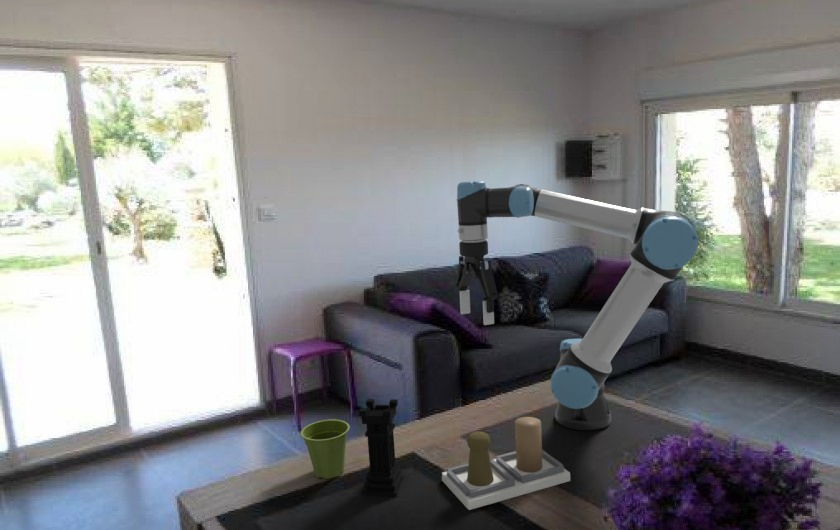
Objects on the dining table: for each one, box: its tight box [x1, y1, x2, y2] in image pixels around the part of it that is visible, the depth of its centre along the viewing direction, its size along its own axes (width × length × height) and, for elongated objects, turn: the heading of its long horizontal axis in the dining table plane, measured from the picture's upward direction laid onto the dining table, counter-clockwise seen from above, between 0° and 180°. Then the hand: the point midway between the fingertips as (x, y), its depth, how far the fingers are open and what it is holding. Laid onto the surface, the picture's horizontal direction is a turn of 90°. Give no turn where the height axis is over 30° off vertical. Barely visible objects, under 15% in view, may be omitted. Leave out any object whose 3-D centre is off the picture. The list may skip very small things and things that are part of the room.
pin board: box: [441, 416, 571, 511], centre depth 141 cm, size 26×14×13 cm, turn 112°
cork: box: [466, 431, 494, 486], centre depth 139 cm, size 6×6×11 cm
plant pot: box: [300, 419, 351, 480], centre depth 150 cm, size 12×12×11 cm
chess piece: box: [358, 398, 406, 497], centre depth 141 cm, size 8×8×20 cm
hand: (476, 318), depth 165 cm, fingers open, 13 cm apart
